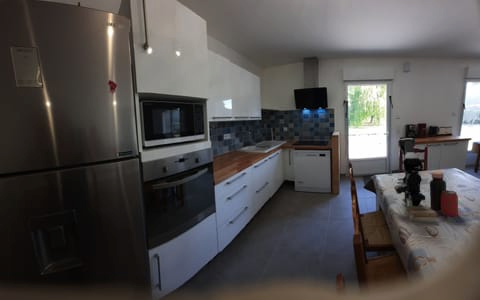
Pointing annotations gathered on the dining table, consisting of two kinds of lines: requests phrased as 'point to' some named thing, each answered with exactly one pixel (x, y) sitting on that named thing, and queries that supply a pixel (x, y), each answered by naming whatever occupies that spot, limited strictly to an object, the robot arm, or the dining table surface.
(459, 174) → the dining table surface
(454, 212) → the beer can
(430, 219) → the slab bottom
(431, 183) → the bottle
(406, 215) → the mat
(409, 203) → the sage block
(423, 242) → the dining table surface
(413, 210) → the slab top
